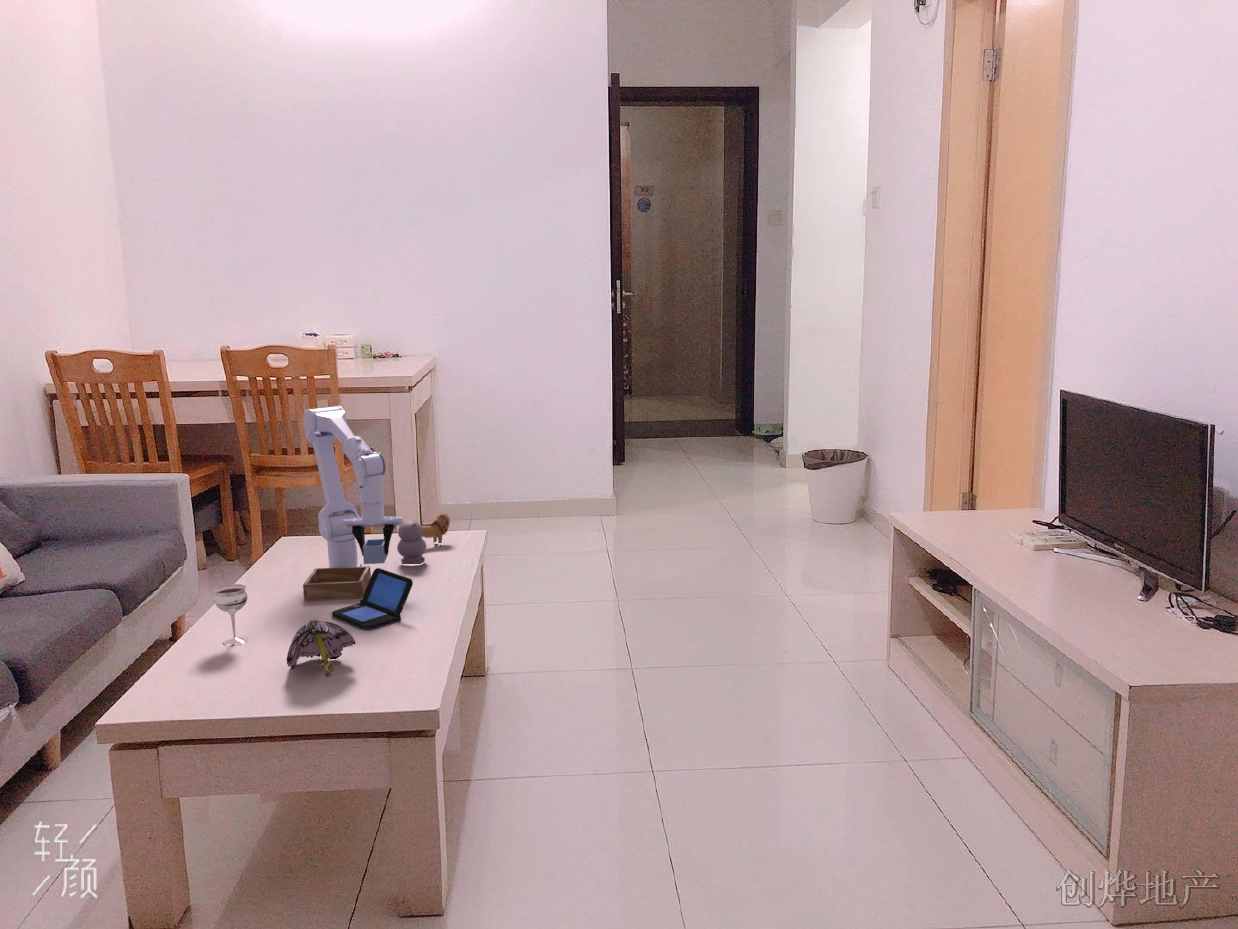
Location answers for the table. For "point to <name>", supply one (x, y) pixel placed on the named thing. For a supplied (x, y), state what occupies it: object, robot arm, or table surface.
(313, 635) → the dark domed piece
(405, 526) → the grey rounded bulbous piece
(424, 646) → the table surface
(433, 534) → the lion figurine
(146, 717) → the table surface
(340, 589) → the tray
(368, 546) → the blue crate
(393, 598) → the handheld game console
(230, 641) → the wineglass
